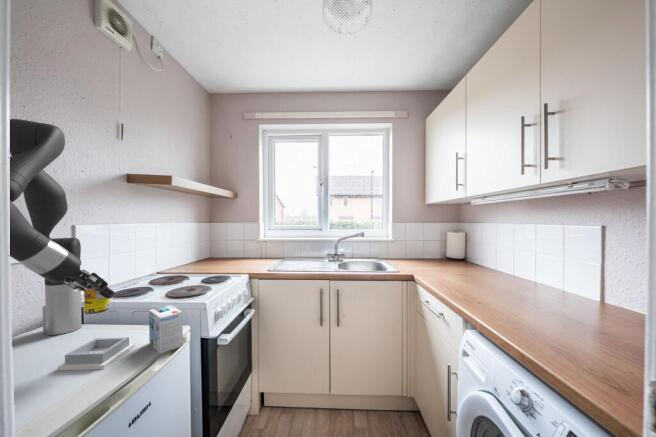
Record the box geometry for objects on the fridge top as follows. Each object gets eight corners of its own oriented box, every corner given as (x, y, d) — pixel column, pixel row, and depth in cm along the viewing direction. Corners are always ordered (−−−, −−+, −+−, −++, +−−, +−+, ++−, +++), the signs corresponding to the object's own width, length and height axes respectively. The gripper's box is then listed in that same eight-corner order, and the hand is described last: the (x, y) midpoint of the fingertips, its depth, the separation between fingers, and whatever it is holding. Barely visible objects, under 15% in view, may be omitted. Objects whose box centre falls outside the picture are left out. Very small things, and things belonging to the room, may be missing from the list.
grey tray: (57, 370, 72) (57, 357, 72) (95, 348, 84) (94, 336, 84) (104, 368, 72) (103, 355, 72) (134, 346, 84) (134, 335, 84)
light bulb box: (148, 343, 86) (147, 309, 86) (172, 336, 91) (171, 304, 91) (159, 354, 79) (158, 317, 79) (184, 346, 84) (183, 311, 84)
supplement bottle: (80, 314, 77) (80, 278, 76) (104, 308, 81) (104, 274, 81) (89, 318, 74) (88, 280, 74) (113, 311, 79) (113, 276, 79)
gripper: (82, 249, 68) (130, 285, 80) (46, 248, 73) (97, 282, 84) (56, 274, 63) (111, 309, 75) (19, 271, 68) (77, 304, 79)
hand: (104, 294), depth 79 cm, fingers closed on supplement bottle, 5 cm apart
